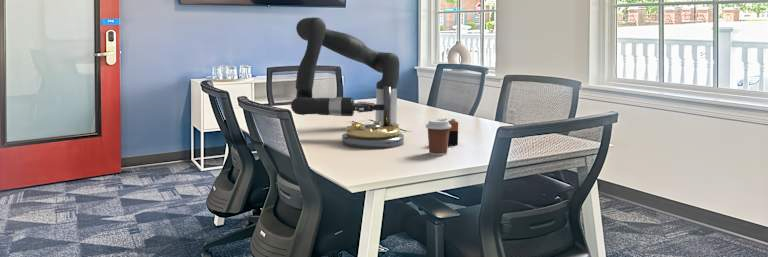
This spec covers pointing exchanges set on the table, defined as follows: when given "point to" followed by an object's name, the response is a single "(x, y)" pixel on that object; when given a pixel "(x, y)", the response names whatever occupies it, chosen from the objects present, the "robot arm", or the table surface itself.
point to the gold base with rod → (376, 124)
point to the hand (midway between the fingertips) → (384, 107)
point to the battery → (453, 132)
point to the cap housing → (373, 142)
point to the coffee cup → (438, 136)
